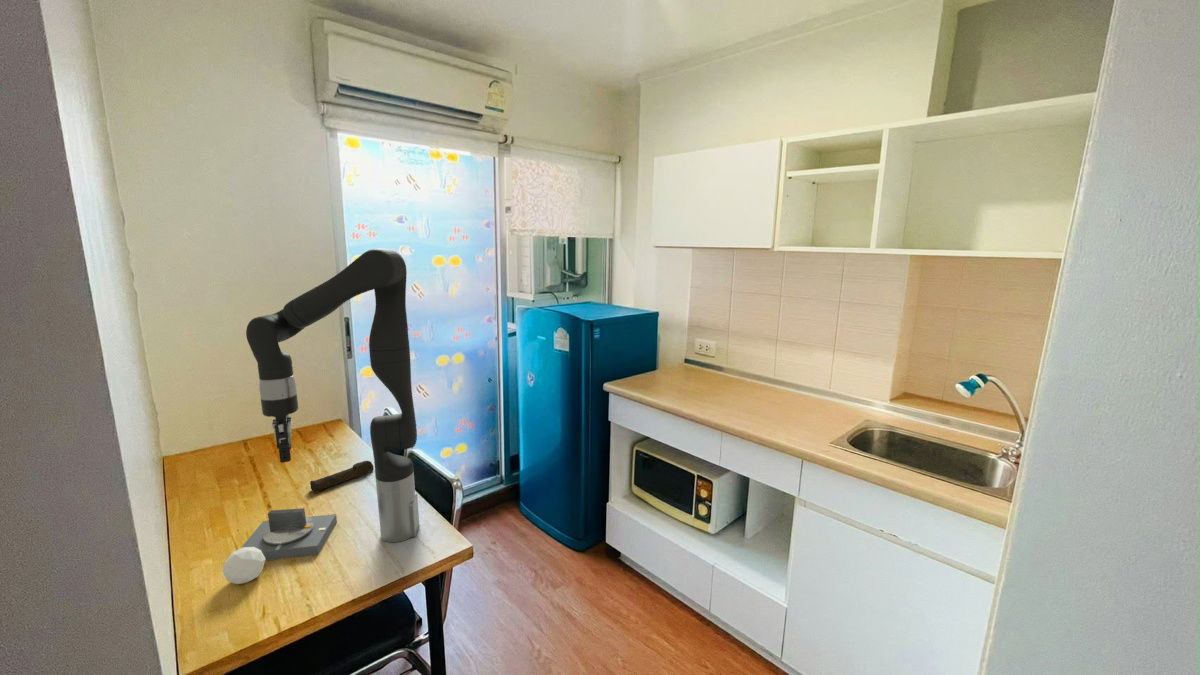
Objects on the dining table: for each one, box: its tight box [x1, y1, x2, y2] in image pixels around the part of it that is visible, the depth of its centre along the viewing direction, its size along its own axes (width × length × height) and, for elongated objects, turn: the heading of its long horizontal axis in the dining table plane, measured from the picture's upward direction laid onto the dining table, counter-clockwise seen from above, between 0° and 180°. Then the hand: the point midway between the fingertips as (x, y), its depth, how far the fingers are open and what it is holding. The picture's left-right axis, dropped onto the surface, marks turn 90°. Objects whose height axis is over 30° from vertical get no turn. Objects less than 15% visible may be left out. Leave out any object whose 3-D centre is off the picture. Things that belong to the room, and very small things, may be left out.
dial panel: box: [239, 513, 338, 561], centre depth 123 cm, size 18×14×3 cm
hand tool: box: [309, 460, 375, 494], centre depth 153 cm, size 19×4×5 cm, turn 138°
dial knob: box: [263, 507, 314, 545], centre depth 122 cm, size 11×11×6 cm
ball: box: [222, 546, 266, 585], centre depth 109 cm, size 8×8×8 cm
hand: (286, 455), depth 121 cm, fingers open, 8 cm apart
